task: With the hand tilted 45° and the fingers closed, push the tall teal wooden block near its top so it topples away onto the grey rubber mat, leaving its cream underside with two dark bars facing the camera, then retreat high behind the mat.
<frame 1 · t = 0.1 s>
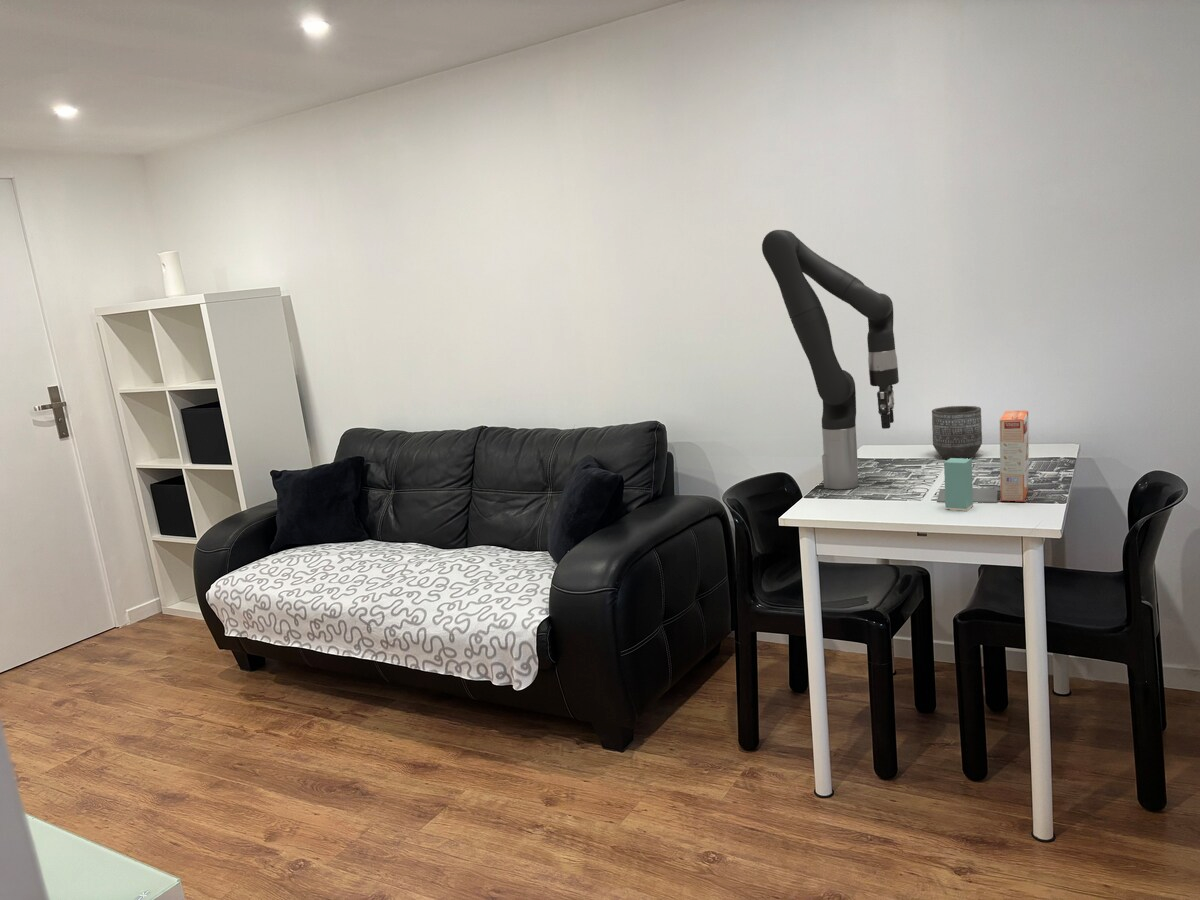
hand: (887, 425, 240), 17 cm above the table, tool pointing down, fingers open, 8 cm apart
planter: (957, 457, 271), on the table
grey mat: (967, 496, 224), on the table
teal block: (959, 507, 215), on the table
cracker box: (1015, 496, 221), on the table
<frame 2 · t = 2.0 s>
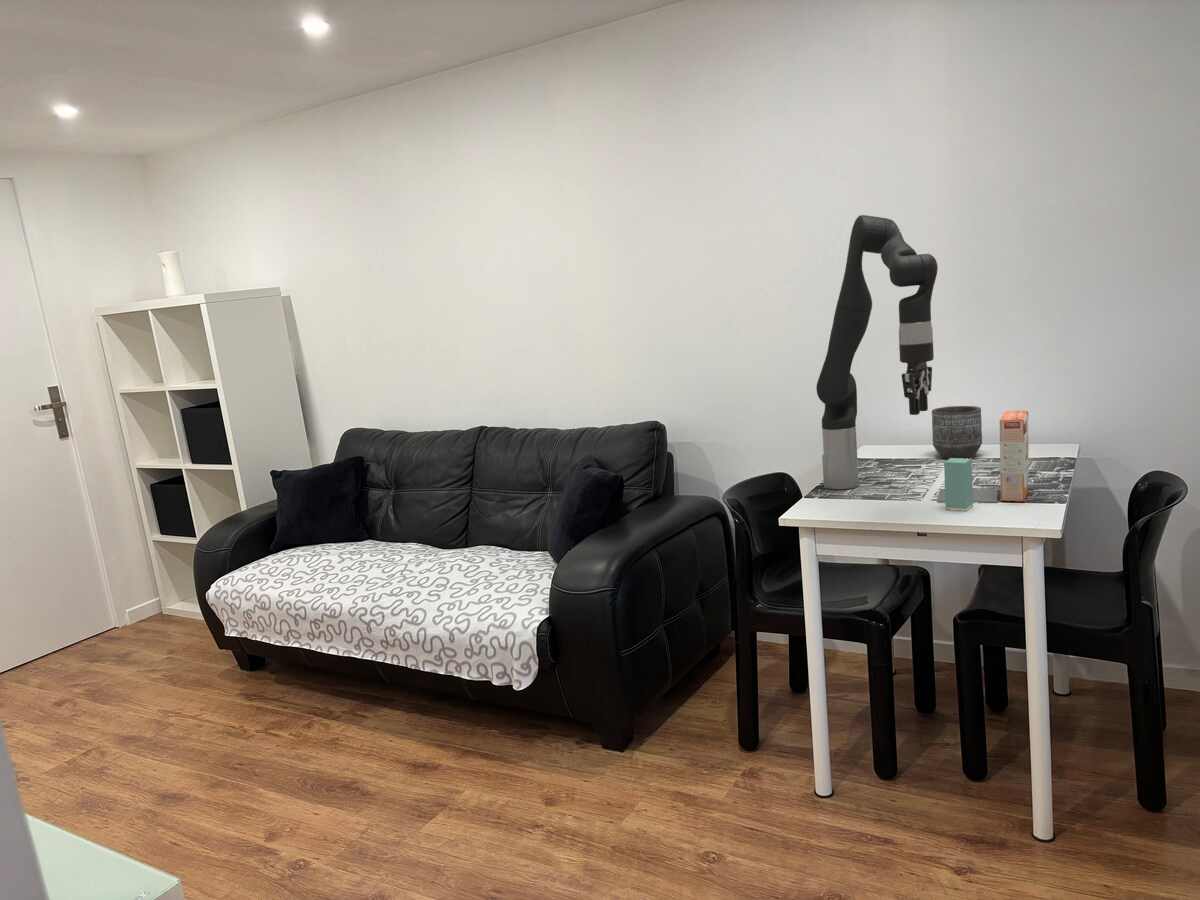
hand: (918, 412, 207), 25 cm above the table, tool pointing down, fingers open, 5 cm apart
nothing on the table moved.
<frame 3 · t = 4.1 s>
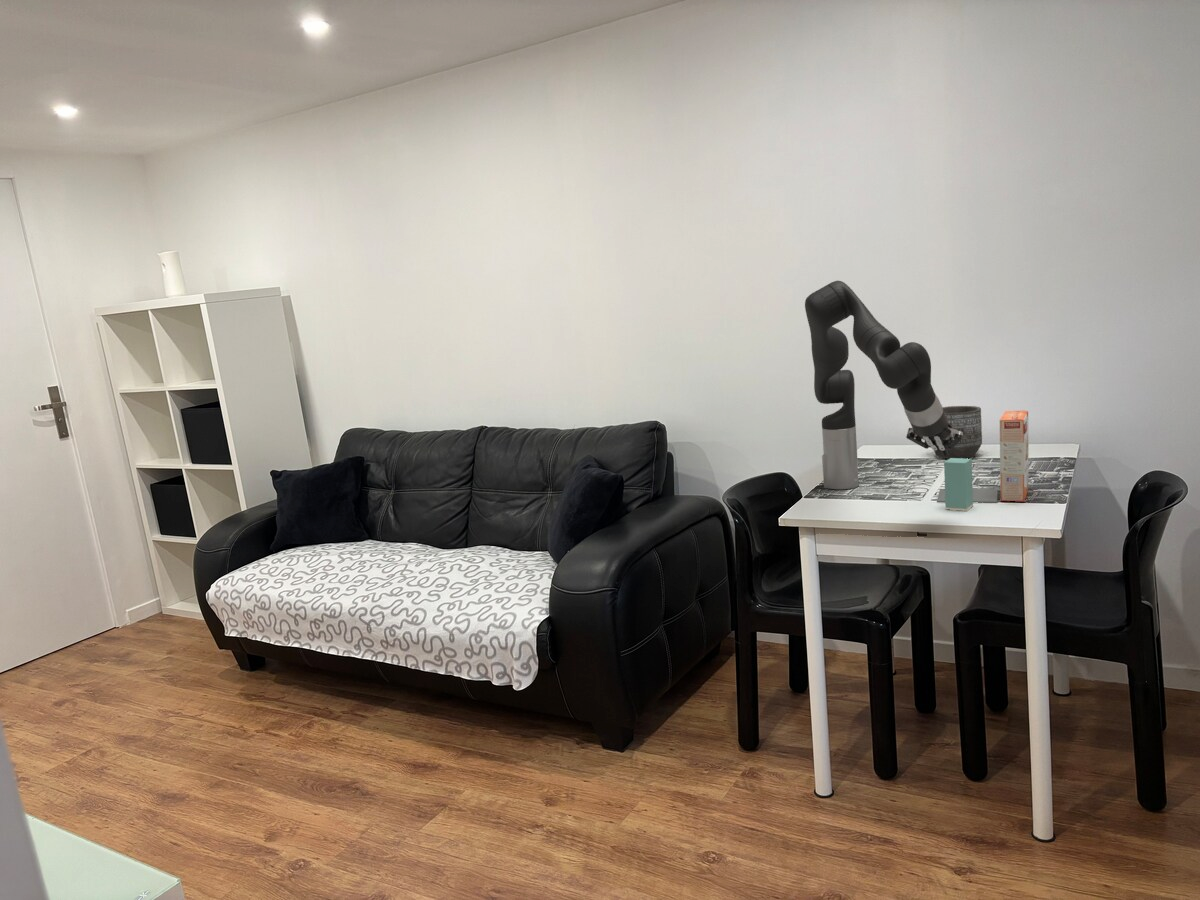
hand: (944, 455, 204), 16 cm above the table, tool tilted 45°, fingers closed
nothing on the table moved.
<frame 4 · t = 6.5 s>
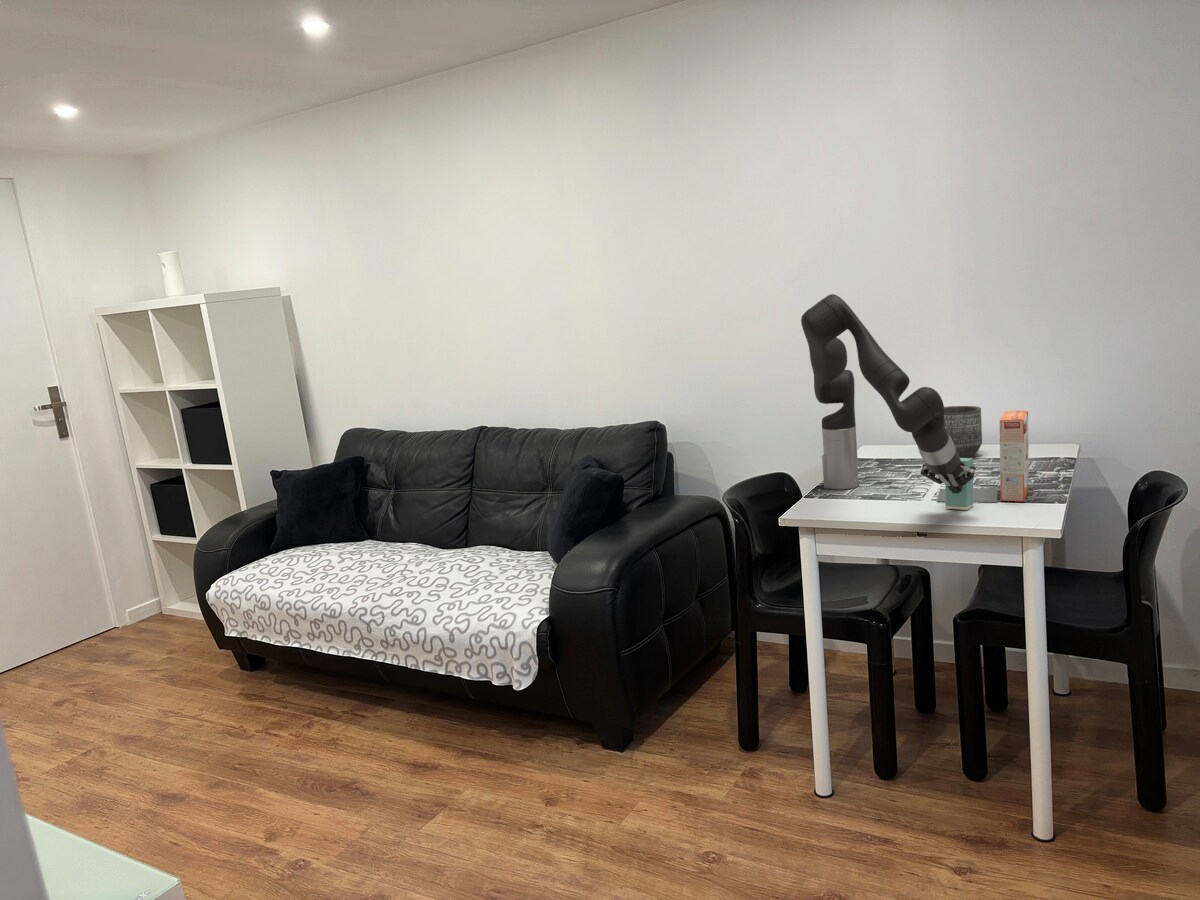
hand: (957, 490, 211), 5 cm above the table, tool tilted 45°, fingers closed
teal block: (959, 507, 215), on the table, touching gripper
everything else where it was.
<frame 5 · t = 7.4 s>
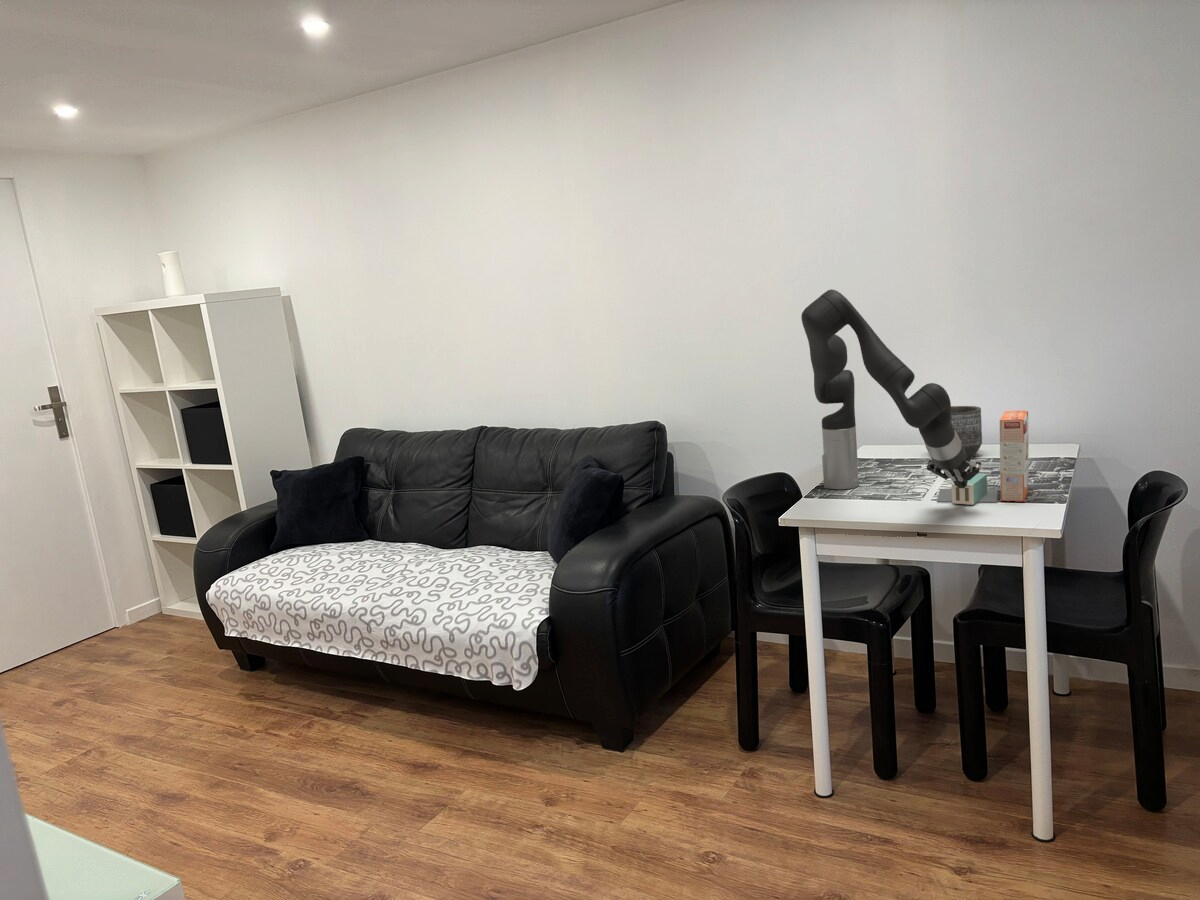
hand: (962, 485, 215), 5 cm above the table, tool tilted 45°, fingers closed
teal block: (962, 494, 216), point 3 cm above the table, tilted 90°, touching grey mat, gripper
everything else where it was.
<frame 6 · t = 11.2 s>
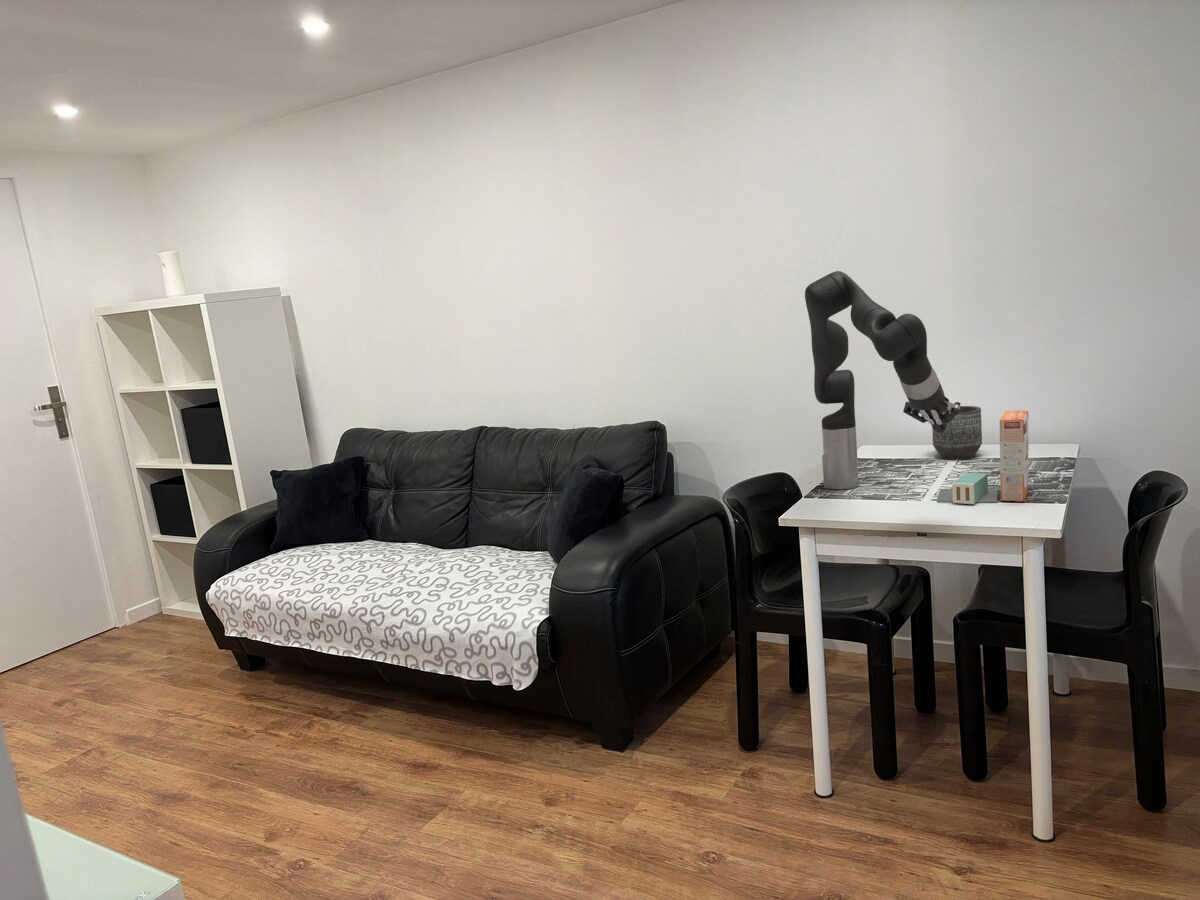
hand: (941, 429, 203), 22 cm above the table, tool tilted 45°, fingers closed
teal block: (962, 493, 216), point 3 cm above the table, tilted 90°, touching grey mat
everything else where it was.
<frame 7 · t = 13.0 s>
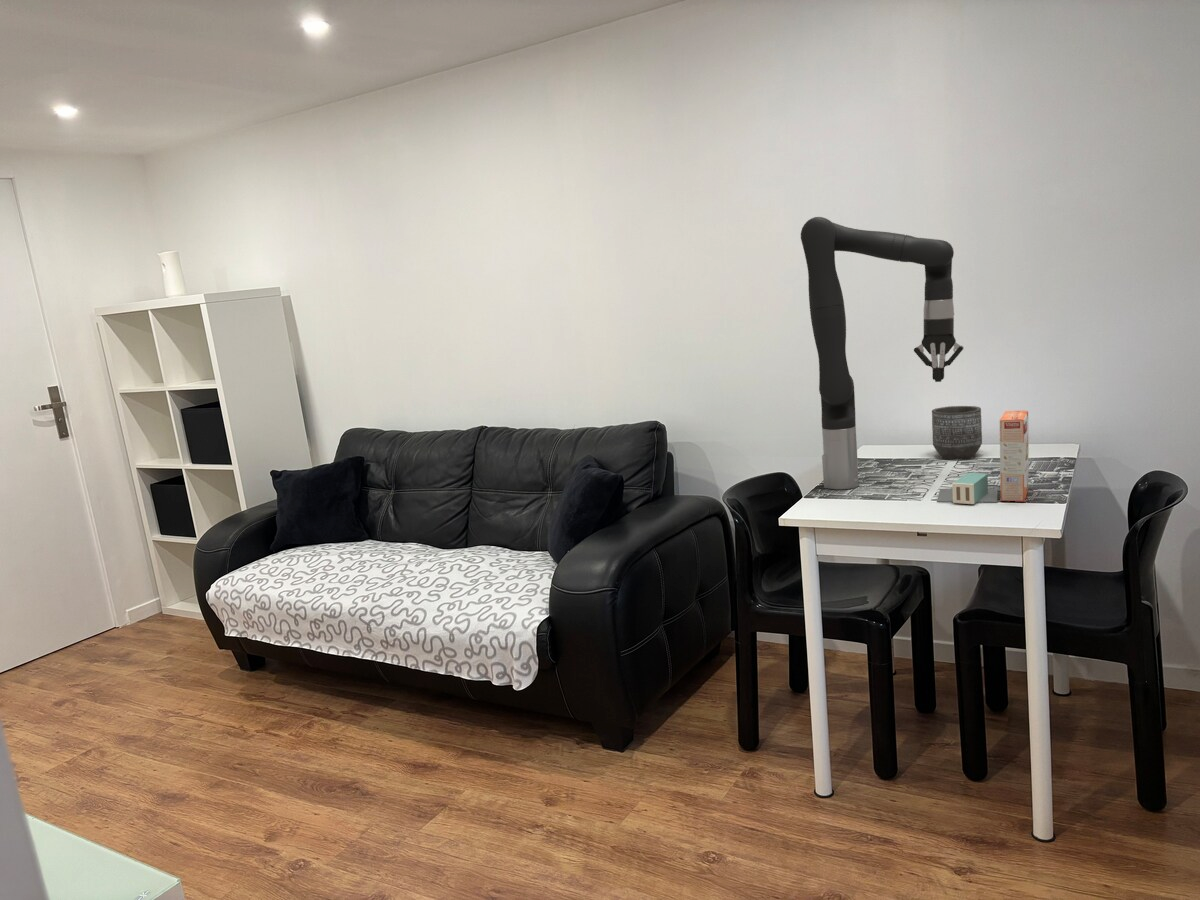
hand: (938, 381, 235), 28 cm above the table, tool pointing down, fingers closed
nothing on the table moved.
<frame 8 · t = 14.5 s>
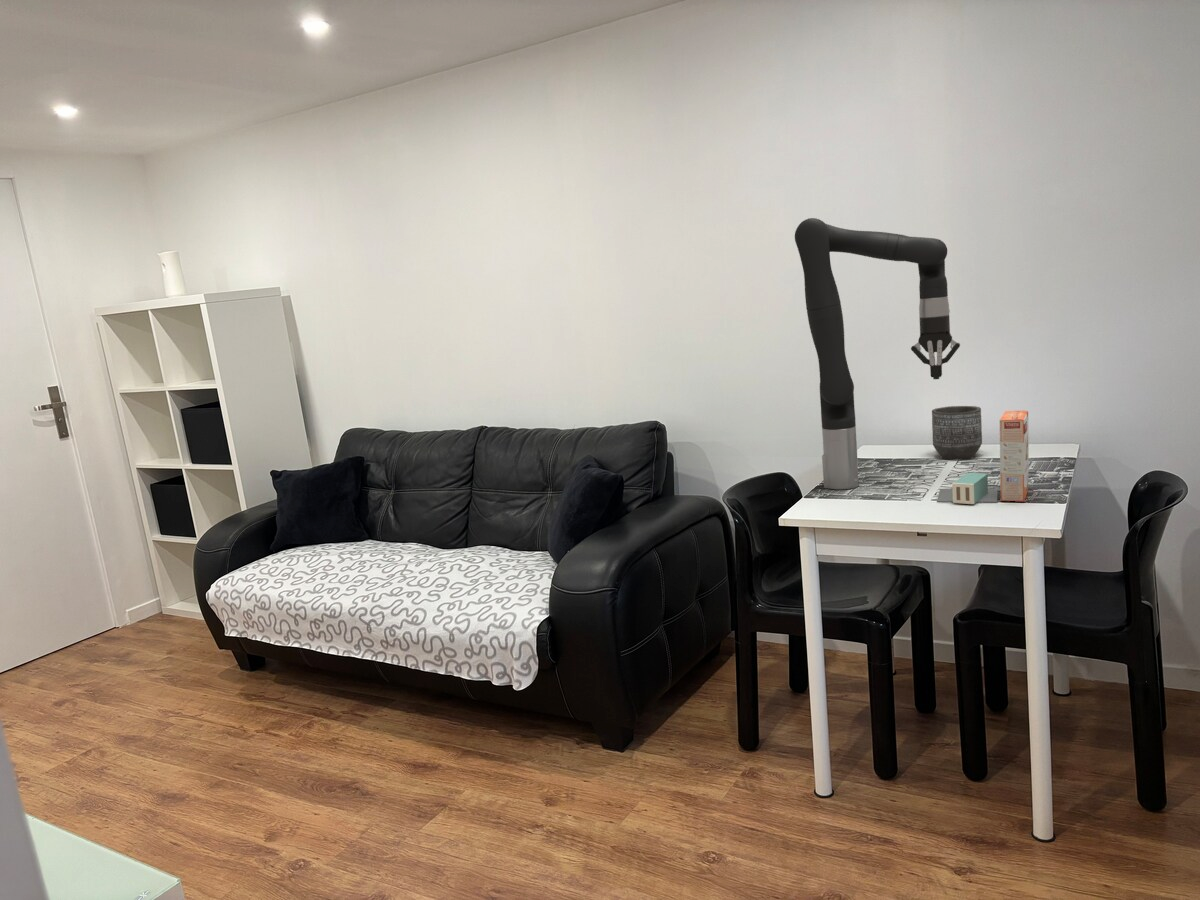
hand: (936, 378, 236), 29 cm above the table, tool pointing down, fingers closed
nothing on the table moved.
at the end: teal block tilted 90°; teal block inside the target area (3.2 cm from its centre), point 2.9 cm above the table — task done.
